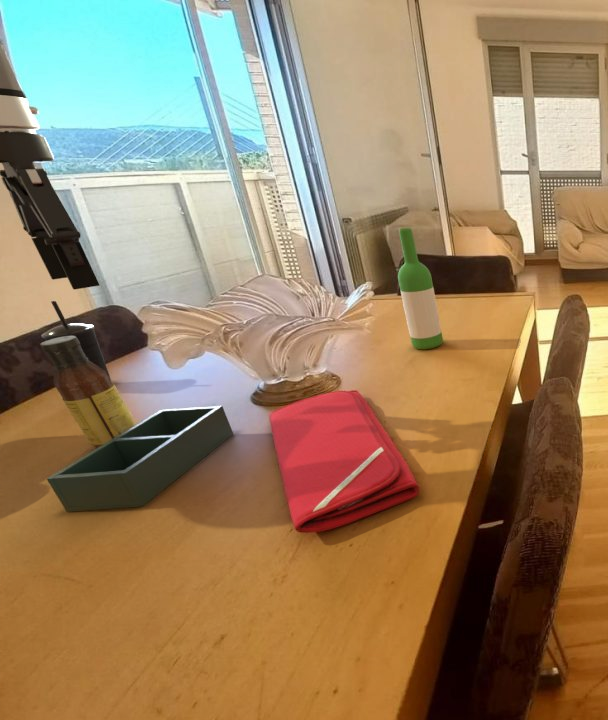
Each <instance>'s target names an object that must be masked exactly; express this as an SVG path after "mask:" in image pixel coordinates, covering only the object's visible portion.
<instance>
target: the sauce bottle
mask: <svg viewBox="0 0 608 720" xmlns="http://www.w3.org/2000/svg"><path fill="white" fill-rule="evenodd" d="M39 346H40V347H41V350H42V351H43V352H44V353H46V354H47V356H48V358H49V360H50V361H51V362H52V364H53V367H54V369H55V374H54V377H53V385H54V387H55V388H56V390H57V392H58V393H59V395H60V396H61V398H62V401H63V403H64V404H65V406H66V407H67V409H68V410H69V412H70V414H71V416H72V417H73V419H74V420H75V422H76V424H77V426H78V427H79V428H80V429H81V432H82V433H83V435H84V436H85V438H86V439H87V441H88V443H89V444H90V445H91V446H92V447H93V448H94V450H95V449H97V448H98V447H100V446H102V445H103V444H105V443H107V442H108V441H110V440H112V439H113V438H115V437H117V436H118V435H120V434H122V433H123V432H125V431H127V430H128V429H130V428H132V427H133V426H135V425H137V424H138V423H137V421H136V420H135V418H134V417H133V414H132V413H131V411H130V410H129V408H128V406H127V404H126V403H125V401H124V399H123V398H122V396H121V394H120V392H119V390H118V389H117V387H116V385H115V383H114V382H113V381H112V379H111V380H110V379H109V377H108V375H107V373H106V371H104V370H103V369H101V368H100V367H98V366H97V365H95V364H94V363H92V362H91V361H89V360H88V358H87V357H86V356H85V354H84V352H83V350H82V349H81V347H80V342H79V340H78V339H77V337H76V336H65V337H58V338H54V339H51V340H45V341H43V342H41V343H40V344H39Z"/></svg>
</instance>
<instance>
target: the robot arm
mask: <svg viewBox="0 0 608 720" xmlns="http://www.w3.org/2000/svg"><path fill="white" fill-rule="evenodd" d="M39 114H40V111H39V109H38V108H37V107H35V106H30V105H29V101H28V99H27V96H26V93H25V91H24V90H23V88H22V86H21V83H20V81H19V79H18V77H17V75H16V71H15V69H14V67H13V64H12V62H11V60H10V57H9V55H8V52H7V50H6V47H5V43H4V40H3V39H1V38H0V164H1V165H2V167H3V169H0V177H1V178H0V179H1V181H2V184H3V185H4V186H5V188H6V189H7V191H8V193H9V195H10V198H11V200H12V202H13V204H14V207H15V209H16V212H17V215H18V217H19V220H20V222H21V224H22V228H23V230H24V231H25V232H26V233H27V234H28V236H30V237H31V240H32V242H33V243H32V244H34V247H35V249H36V251H37V252H38V255H39V257H40V258H41V260H42V263H43V264H44V266H45V268H46V271H47V273H48V274H49V277H50V279H51V280H60V279H66V278H67V280H68V282H69V283H70V286H71V288H72V290H79V289H86V288H92V287H98V286H101V285H100V283H99V280H98V278H97V276H96V274H95V272H94V270H93V267H92V266H91V263H90V261H89V259H88V257H87V255H86V252H85V251H84V249H83V246H82V244H81V242H80V239H81V233H80V231H78V229H77V227H76V226H75V223H74V222H73V220H72V218H71V217H70V215H69V213H68V212H67V210H66V207H65V206H64V205H63V202H62V201H61V199H60V198H59V195H58V193H57V192H56V190H55V188H54V187H53V184H52V183H51V181H50V179H49V177H48V172H47V171H46V170H45V169H44V168H37V167H36V166H35V163H51V162H54V161H55V156H54V154H53V152H52V150H51V148H50V145H49V143H48V141H47V139H46V136H43V135H42V134H40V133H37V132H36V131H38V130H39V129H41V126H40V124H39V123H38V120H37V118H36V116H35V115H39Z"/></svg>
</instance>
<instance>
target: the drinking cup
mask: <svg viewBox="0 0 608 720" xmlns="http://www.w3.org/2000/svg"><path fill="white" fill-rule="evenodd" d="M50 303H51V305H52V306H53V308H54V310H55V313H56V315H57V317H58V319H59V320H60V322H61V324H60V325H56V326H54V327H52V328H50V329H49V330H47V331H45V332H43V333H42V334H41V338H42V339H45V341H47V340H51V339H54V338H58V337H65V336H76V337H77V339H78V340H79V342H80V347H81V349H82V350H83V352H84V354H85V356H86V357H87V358H88V360H89V361H91V362H92V363H94V364H95V365H97V366H98V367H100V368H101V369H103V370H104V371H106V373H107V375H108V377H109V379H110V380H111V381H112V378H111V376H110V373H109V370H108V366H107V364H106V361H105V359H104V356H103V353H102V350H101V347H100V343H99V342H98V338H97V335H96V332H95V326H94V325H93V324H89V323H88V324H86V323H79V322H78V323H77V322H75V323H73V322H72V323H68V322H67V320H66V318H65V316H64V315H63V313H62V310H61V308H60V306H59V304H58V302H57V301H56V300H51V301H50Z"/></svg>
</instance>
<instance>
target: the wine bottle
mask: <svg viewBox="0 0 608 720" xmlns="http://www.w3.org/2000/svg"><path fill="white" fill-rule="evenodd" d="M398 233H399V239H400V244H401V249H402V254H403V259H404V264H402V265H401V267H400V268H399V270H398V273H397V280H398V285H399V290H400V295H401V301H402V305H403V310H404V315H405V319H406V323H407V329H408V333H409V337H410V342H411V345H412V347H413V348H414V349H416V350H422V351H423V350H431V349H435V348H437V347H440V346H441V345H442V344H443V342H444V341H443V340H444V339H443V331H442V326H441V320H440V317H439V316H440V315H439V310H438V305H437V299H436V294H435V288H434V284H433V279H432V274H431V271H430V270H429V268H428V267H427V266H426V265H425V264H424V263H422V262H420V261H419V258H418V253H417V248H416V244H415V243H416V242H415V238H414V233H413V229H412V228H410V227H406V228H405V227H404V228H403V227H402V228H399V229H398Z"/></svg>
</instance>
